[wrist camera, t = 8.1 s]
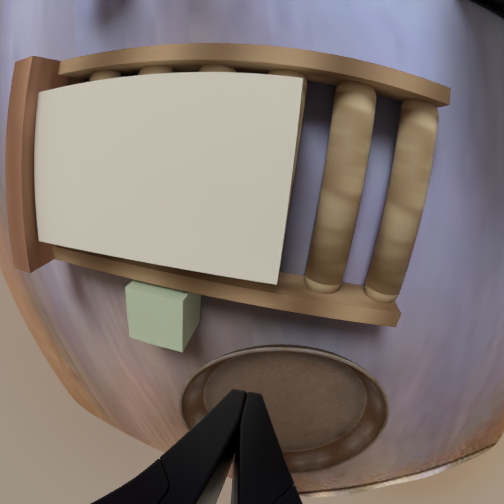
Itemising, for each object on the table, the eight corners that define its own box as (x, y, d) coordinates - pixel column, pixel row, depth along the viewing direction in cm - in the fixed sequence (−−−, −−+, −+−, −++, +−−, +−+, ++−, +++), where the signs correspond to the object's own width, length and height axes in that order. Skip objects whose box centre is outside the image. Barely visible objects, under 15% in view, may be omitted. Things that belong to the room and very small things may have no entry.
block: (202, 274, 21) (182, 301, 18) (200, 321, 23) (182, 352, 19) (151, 264, 22) (125, 287, 18) (152, 309, 23) (129, 337, 20)
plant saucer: (396, 429, 24) (401, 452, 22) (243, 462, 29) (238, 482, 27) (353, 289, 20) (359, 312, 17) (153, 354, 25) (139, 375, 22)
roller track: (431, 96, 15) (478, 82, 9) (387, 303, 20) (410, 354, 14) (69, 70, 18) (15, 62, 12) (62, 241, 23) (14, 267, 17)
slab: (302, 88, 14) (303, 77, 12) (280, 266, 18) (276, 284, 15) (62, 94, 16) (38, 92, 14) (61, 230, 19) (38, 240, 17)
